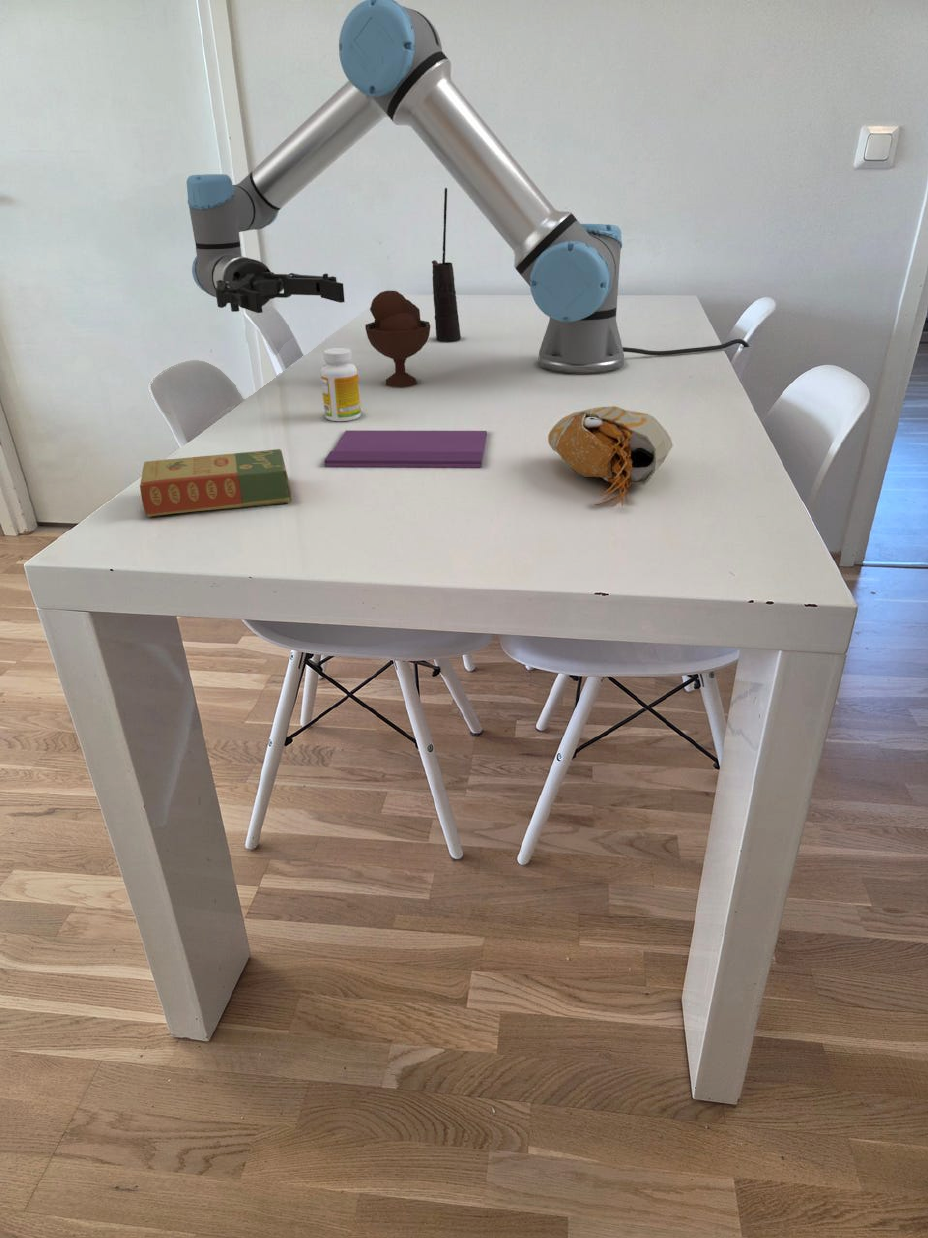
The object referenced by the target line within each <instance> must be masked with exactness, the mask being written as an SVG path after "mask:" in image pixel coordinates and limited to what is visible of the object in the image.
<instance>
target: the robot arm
mask: <svg viewBox="0 0 928 1238" xmlns="http://www.w3.org/2000/svg"><path fill="white" fill-rule="evenodd" d="M438 33H439V32H438V30H437V29H436V27H435V26H434V24H433V23H432V22H431V20H430V19H428V18H427V16H425V15H424V14H423V13H421V12H420V11H418V10H415V9H413V8H409V7H406V6H403V5H401V4H400V3H399V2H397V1H395V0H363V1H361V2H360V3H358V4H356V5H355V7H353V9H351V11H350V12H349V13H348V14H347V16H346V18H345V19H344V21H343V24H342V26H341V29H340V33H339V38H338V50H339V51H338V56H339V61H340V65H341V68H342V71H343V73H344V75H345V77H346V78H347V81H346V83H344V84H343V85H342V86H341V87H340V88H339V89H337V91H336V92H335V93H334V94H332V95H331V97H330V98H328V99H327V100H326V101H325V102H324V103H323V104H322V105H321V106H320V107H319V108H317V110H316V111H315V112H313V113H312V114H311V115H310V116H309V117H308V118H307V119H306V120H305V121H304V122H302V124H300V125H299V126H298V127H297V128H296V129H295V130H294V131H292V133H291V134H290V135H288V137H287V138H286V139H285V140H283V141H282V142H281V143H280V144H279V145H278V146H277V147H276V148H275V149H274V150H273V151H272V152H271V153H269V155H267V156H266V157H265V159H263V160H262V161H261V162H260V163H259V164H258V165H257V166H255V168H253V170H252V171H251V172H249V173H248V174H247V175H246V176H244V177H243V179H242V180H241V181H240V182H238V183H237V184H233V181H232V178H231V177H230V176H229V175H228V174H224V173H209V174H208V173H207V174H192V175H189V176H188V177H187V179H186V191H187V192H186V193H187V204H188V208H189V215H190V221H191V227H192V232H193V238H194V245H195V252H196V253H195V254H196V256H195V258H194V260H193V262H192V266H191V274H192V278H193V281H194V282H195V284H196V286H197V287H198V288H199V289H200V290H201V291H203V292H205V293H206V294H207V295H209V296H211V297H213V298H216V305H217V308H219V309H223V308H226V307H227V305H228V304H230V311H231V312H232V313H237V312H240V308H242V309H243V310H248V311H251V312H253V313H256V314H263V306H265V305H266V304H267V303H269V301H270V300H273V299H276V298H281V299H282V298H283V299H287V298H289V297H291V296H320V298H321V299H325V300H329V301H332V302H336V303H341V304H342V303H345V290H344V289H345V288H344V283H343V282H338V281H337V276H332V275H331V276H329V273H327V272H326V273H323V274H322V275H309V274H298V273H294V272H290V273H288V274H287V273H275V272H272V271H271V270H270V269H269V267H268V266H267V265H266V264H264V263H263V262H262V261H261V260H258V259H253V258H249V257H246V256H243V255H242V249H241V237H240V233H242V232H247V231H252V230H253V231H255V230H261V229H264V228H266V227H267V226H270V225H272V224H273V223H275V221H276V220H277V217H278V215H279V212H280V210H282V209H283V207H284V206H286V205H287V204H288V203H289V202H290V201H291V200H292V199H294V198H295V197H296V196H297V195H298V194H300V193H301V192H302V191H303V190H304V189H305V188H307V186H309V184H311V183H312V182H313V181H314V180H315V179H316V178H318V177H319V176H320V175H321V174H322V173H323V172H324V171H326V170H327V169H328V168H329V167H330V166H332V165H333V164H334V163H335V162H337V160H338V159H340V157H341V156H342V155H344V154H345V153H347V152H348V151H349V149H350V148H352V147H353V146H354V145H355V144H356V143H358V141H360V140H361V139H362V138H363V137H364V136H366V134H368V133H369V132H370V131H371V130H372V129H373V128H375V127H376V126H377V125H378V124H380V122H381V121H383V120H384V119H385V118H389V119H390V120H391V121H392V123H393V124H394V125H396V126H408V127H410V128H411V129H412V130H413V131H414V133H416V135H417V136H418V137H419V139H421V141H422V142H423V143H424V144H425V146H426V147H427V148H428V149H429V151H430V152H431V153H432V154H433V156H435V158H436V159H437V160H438V162H439V163H440V164H441V165H442V166H443V168H444V169H445V170H446V171H447V172H448V174H449V175H450V176H451V177H452V178H453V180H454V181H455V182H456V183H457V184H458V186H459V187H460V188H461V189H462V191H464V192H465V194H466V196H467V197H468V198H469V199H470V200H471V201H472V203H474V205H475V206H476V207H477V209H478V210H479V211H480V212H481V213H482V215H483V216H484V217H485V218H486V220H488V222H489V223H490V224H491V226H493V228H494V229H495V230H496V232H497V233H498V234H499V235H500V236H501V238H502V239H503V240H504V242H505V243H506V244H507V245H508V246H509V247H510V248H511V249H512V251H513V253H514V262H513V263H514V264H513V267H514V269H515V270H516V271H517V272H518V274H519V275H520V276H521V277H522V279H523V280H524V281H525V282H526V284H527V285H528V286H529V287H530V288H529V289H530V293H531V296H532V298H533V301H534V303H535V305H536V306H537V307H538V309H539V310H540V311H541V312H542V313H543V314H544V315H545V316H547V317H549V320H548V323H547V326H546V330H545V332H544V336H543V339H542V342H541V344H540V347H539V350H538V357H537V358H538V360H537V361H538V362H537V364H538V365H539V367H541V368H543V369H544V370H547V371H551V372H556V373H564V374H576V375H577V374H582V375H583V374H584V375H586V374H587V375H588V374H601V373H607V372H612V371H616V370H618V369H621V368H622V367H623V366H624V361H625V360H624V359H625V353H633V354H640V355H646V356H647V355H648V356H671V355H681V354H689V353H691V354H692V353H700V352H701V353H702V352H709V351H718V350H723V349H726V348H728V347H731V346H733V345H736V344H740V345H742V346H743V347H744V348H750V345H749V343H748V342H747V341H746V340H744V339H741V338H736V339H731V340H729V341H727V342H724V343H722V344H716V345H709V346H708V345H707V346H700V347H689V348H678V349H670V350H649V349H643V348H635V347H626V346H623V345H622V344H623V343H622V339H621V336H620V332H619V327H618V323H617V310H618V309H617V308H618V294H619V281H620V280H619V278H620V265H621V263H620V262H621V250H622V248H623V241H622V230H621V228H620V227H619V226H618V225H615V224H603V223H580V221H579V220H578V219H577V218H576V216H575V215H574V214H573V212H572V211H563V210H557V209H555V207H554V206H553V204H551V202H550V201H549V200H548V199H547V198H546V196H545V195H544V194H543V192H542V191H541V190H540V188H539V187H538V186H537V185H536V184H535V182H534V181H533V180H532V178H530V176H529V175H528V174H527V172H526V171H525V170H524V169H523V167H522V166H521V165H520V164H519V162H518V161H517V160H516V159H515V157H514V156H513V155H512V154H511V152H510V151H509V150H508V149H507V147H506V146H505V145H504V144H503V143H502V142H501V140H500V139H499V138H498V136H497V135H496V134H495V132H494V131H493V130H492V129H491V128H490V126H489V125H488V124H487V123H486V122H485V120H484V119H483V118H482V116H481V115H480V114H479V113H478V111H476V109H475V107H473V105H472V104H471V102H470V101H468V99H467V98H466V97H465V95H464V94H463V93H462V92H461V90H460V89H459V88H458V87H457V85H456V84H455V83H454V82H453V80H452V62H451V60H450V59H449V58H448V57H447V55H446V54H445V53H444V52H443V46H442V42H441V38H440V36H439V34H438ZM282 291H283V292H282Z"/></svg>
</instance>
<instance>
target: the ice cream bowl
mask: <svg viewBox="0 0 928 1238" xmlns="http://www.w3.org/2000/svg"><path fill="white" fill-rule="evenodd" d="M369 311H370V313H371V315H372V317H373V318H374V321H373V322H370V323H367V324H365V333H366V336H367V339H368V341H369V343H370V345H371V346H372V347H373V348H374V349H375V351H377V352H378V353H379V354H381V355H382V356H384V357H387V358H388V359H389V358H390V359H392V360H393V363H394V373H393V374H392V375H390V376H388V377H387V378H386V379H385V381H384V382H385V386H387V387H391V388H405V387H412V386H415V385H417V384H418V383H417V379H416V377H415V376H412V375H411V374H410V373H408V372H407V371H406V361H407V359H408V358H410V357H412V356H414V355H416V354H417V353H418V352H420V351H421V350H422V348H423V347H424V346H425V345H426V344H427V342H428V339H429V337H430V333H431V326H432V325H431V324H430V321H426V320H421V310H420V309H419V308H418V306H416V305H415V304H414V303H413V302H412V301H410V300H409V299H407V298H406V297H405V296H404V294H402V293H400V292H399V291H398V290H383V291H380V292H379V293H378V294H376V295H375V296H374V298H373V299H372V302H371V304H370V308H369Z"/></svg>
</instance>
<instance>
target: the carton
mask: <svg viewBox="0 0 928 1238" xmlns="http://www.w3.org/2000/svg"><path fill="white" fill-rule="evenodd" d="M284 459H285V458H284V456H283V452H282V449H280V448H277V449H276V448H275V449H266V450H257V451H256V450H255V451H244V452H235V453H225V454H224V453H223V454H214V455H203V456H202V455H201V456H191V457H180V458H168V459H157V460H148V461H144V463H143V468H142V471H141V472H142V473H141V477H140V478H141V479H140V484H139V489H140V495H141V496H140V497H141V500H142V505H143V510H144V514H145V516H146V517H147V518H148V517H156V516H164V515H173V514H183V513H191V512H201V511H214V510H224V509H225V510H226V509H233V508H234V509H236V508H248V507H259V506H260V507H261V506H269V505H281V504H287V503H288V504H289V503H290V502H291V501H292V500H293V497H292V496H293V495H292V490H291V484H290V480H289V475H288V473H287V468H286V464H285V460H284Z"/></svg>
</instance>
